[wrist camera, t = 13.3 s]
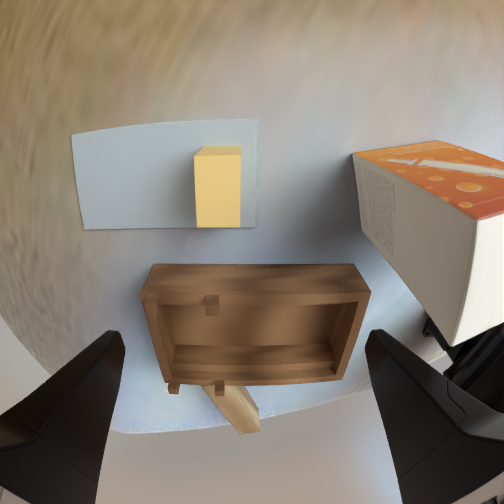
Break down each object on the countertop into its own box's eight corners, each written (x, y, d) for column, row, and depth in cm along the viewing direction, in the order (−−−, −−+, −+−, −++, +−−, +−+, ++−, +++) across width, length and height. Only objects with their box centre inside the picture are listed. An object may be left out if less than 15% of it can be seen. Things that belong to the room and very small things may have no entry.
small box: (437, 138, 18) (571, 191, 6) (440, 211, 21) (545, 297, 9) (348, 151, 19) (477, 221, 7) (358, 231, 21) (449, 353, 10)
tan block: (226, 353, 27) (225, 382, 24) (258, 407, 32) (259, 431, 29) (204, 358, 28) (201, 386, 24) (239, 410, 33) (240, 434, 29)
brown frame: (353, 263, 23) (377, 301, 18) (332, 349, 27) (344, 389, 23) (154, 263, 22) (135, 303, 17) (171, 351, 27) (162, 392, 22)
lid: (258, 119, 18) (263, 121, 13) (255, 224, 21) (259, 256, 17) (76, 134, 17) (37, 144, 13) (88, 226, 21) (57, 255, 16)
